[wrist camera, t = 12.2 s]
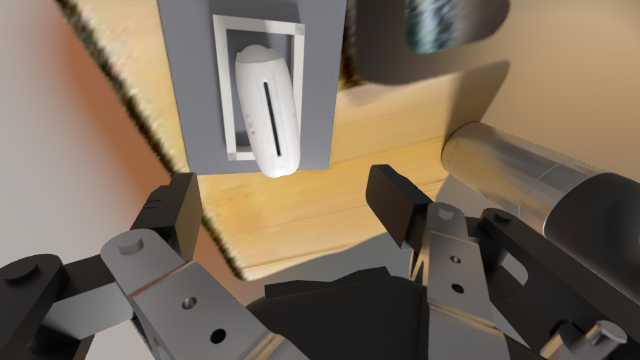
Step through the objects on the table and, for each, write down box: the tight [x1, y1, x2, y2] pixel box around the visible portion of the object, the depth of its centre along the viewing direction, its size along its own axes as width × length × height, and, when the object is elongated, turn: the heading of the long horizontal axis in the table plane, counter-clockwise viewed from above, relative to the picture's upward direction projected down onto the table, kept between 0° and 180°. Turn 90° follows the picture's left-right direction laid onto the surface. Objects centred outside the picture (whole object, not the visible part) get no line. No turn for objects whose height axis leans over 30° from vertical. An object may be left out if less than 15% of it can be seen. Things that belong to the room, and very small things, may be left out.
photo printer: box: [235, 44, 300, 178], centre depth 24 cm, size 10×4×12 cm, turn 6°
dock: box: [158, 0, 347, 175], centre depth 29 cm, size 18×20×3 cm
